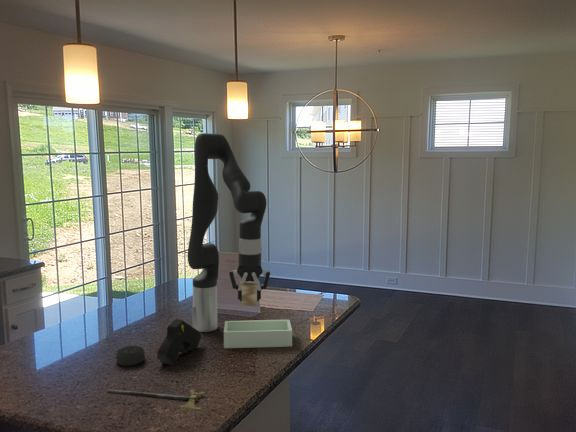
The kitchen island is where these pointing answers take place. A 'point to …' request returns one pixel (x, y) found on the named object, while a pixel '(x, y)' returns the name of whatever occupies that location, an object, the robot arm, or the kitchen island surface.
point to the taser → (178, 341)
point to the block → (249, 294)
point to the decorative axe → (166, 396)
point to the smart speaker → (130, 355)
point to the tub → (257, 333)
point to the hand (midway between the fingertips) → (249, 300)
